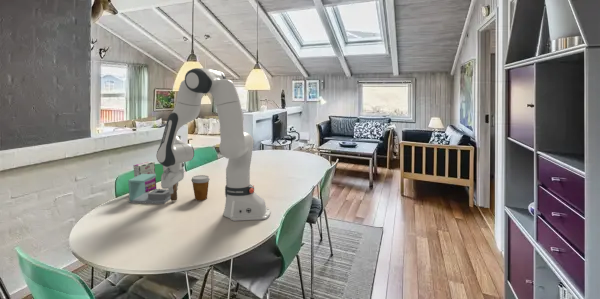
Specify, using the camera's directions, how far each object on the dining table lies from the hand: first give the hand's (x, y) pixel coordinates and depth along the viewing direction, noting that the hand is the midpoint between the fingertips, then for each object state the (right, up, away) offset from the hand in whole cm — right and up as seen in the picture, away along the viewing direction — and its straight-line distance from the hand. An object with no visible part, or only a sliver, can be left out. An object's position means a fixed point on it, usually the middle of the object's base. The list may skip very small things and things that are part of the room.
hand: (173, 192), depth 169 cm
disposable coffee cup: (+13, -5, +6) cm, 15 cm away
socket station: (-12, -4, +4) cm, 14 cm away
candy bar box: (-23, -2, +18) cm, 29 cm away
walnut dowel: (0, -4, +1) cm, 4 cm away
